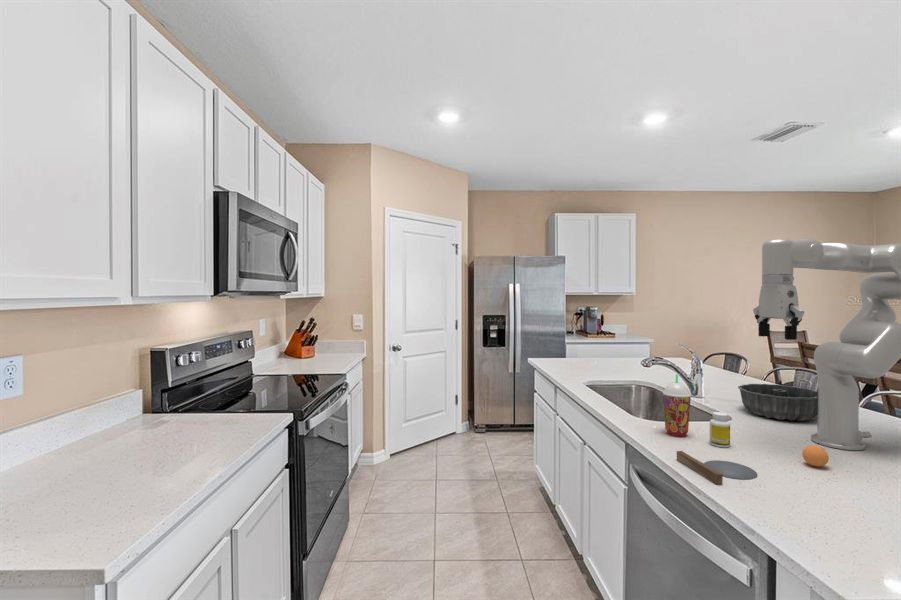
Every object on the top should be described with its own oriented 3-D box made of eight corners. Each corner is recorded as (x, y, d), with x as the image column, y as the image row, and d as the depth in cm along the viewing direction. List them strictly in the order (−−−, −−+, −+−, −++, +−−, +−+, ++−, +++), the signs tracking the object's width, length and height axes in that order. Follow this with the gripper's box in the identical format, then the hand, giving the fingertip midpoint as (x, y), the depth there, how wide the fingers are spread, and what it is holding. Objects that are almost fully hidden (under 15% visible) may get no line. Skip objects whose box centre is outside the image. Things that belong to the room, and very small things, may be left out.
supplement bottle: (733, 448, 130) (733, 416, 130) (713, 447, 131) (713, 415, 131) (725, 442, 136) (725, 411, 136) (706, 441, 137) (706, 410, 137)
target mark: (733, 460, 121) (733, 459, 121) (769, 478, 109) (769, 477, 109) (693, 462, 120) (693, 461, 120) (725, 480, 108) (725, 479, 108)
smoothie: (657, 430, 148) (657, 372, 147) (680, 429, 148) (680, 372, 148) (672, 438, 139) (672, 377, 139) (696, 437, 140) (696, 376, 140)
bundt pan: (722, 407, 177) (722, 383, 177) (780, 405, 180) (780, 381, 180) (777, 427, 151) (777, 399, 151) (844, 424, 154) (844, 396, 154)
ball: (814, 461, 120) (815, 442, 120) (834, 469, 115) (834, 449, 114) (796, 462, 119) (797, 442, 119) (815, 470, 114) (815, 449, 114)
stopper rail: (681, 459, 122) (681, 450, 122) (722, 484, 106) (722, 474, 106) (676, 459, 122) (676, 451, 122) (716, 484, 106) (716, 474, 106)
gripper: (815, 280, 121) (814, 340, 121) (766, 281, 138) (765, 335, 138) (790, 280, 120) (789, 341, 121) (743, 281, 138) (743, 335, 138)
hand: (776, 337), depth 129 cm, fingers open, 9 cm apart
